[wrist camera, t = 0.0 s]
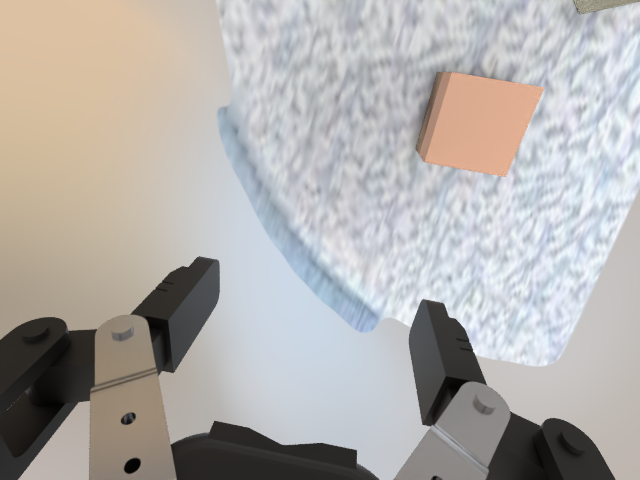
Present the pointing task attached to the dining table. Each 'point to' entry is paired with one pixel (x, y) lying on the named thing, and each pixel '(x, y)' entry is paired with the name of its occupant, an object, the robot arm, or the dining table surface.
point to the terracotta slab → (478, 123)
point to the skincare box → (599, 4)
